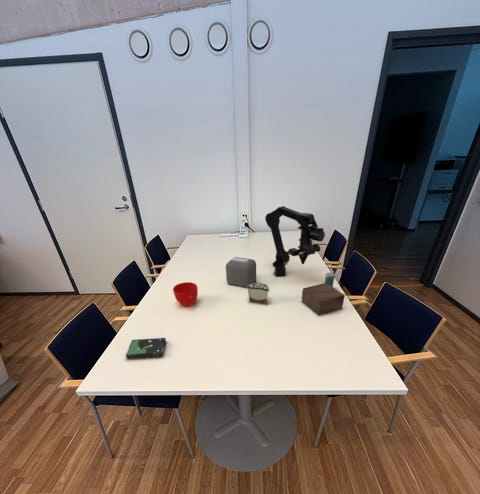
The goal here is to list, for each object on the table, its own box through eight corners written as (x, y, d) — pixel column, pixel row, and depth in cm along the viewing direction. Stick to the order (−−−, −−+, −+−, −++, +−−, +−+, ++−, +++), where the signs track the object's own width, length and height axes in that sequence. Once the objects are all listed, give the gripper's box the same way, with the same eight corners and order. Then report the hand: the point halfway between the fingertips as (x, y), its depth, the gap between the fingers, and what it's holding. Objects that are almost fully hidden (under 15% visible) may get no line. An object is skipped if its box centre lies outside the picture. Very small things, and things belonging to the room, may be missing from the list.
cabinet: (301, 301, 145) (303, 288, 140) (323, 296, 149) (325, 282, 145) (318, 315, 133) (321, 301, 128) (341, 309, 137) (344, 294, 133)
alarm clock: (256, 281, 168) (256, 258, 159) (249, 289, 159) (248, 264, 151) (233, 277, 174) (232, 254, 165) (225, 284, 165) (223, 261, 156)
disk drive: (166, 342, 120) (133, 344, 119) (165, 337, 118) (131, 339, 117) (162, 357, 111) (126, 359, 110) (161, 352, 110) (125, 354, 109)
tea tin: (325, 292, 153) (327, 276, 147) (321, 288, 157) (324, 273, 151) (333, 291, 153) (336, 275, 148) (329, 287, 157) (332, 272, 152)
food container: (271, 299, 148) (271, 283, 142) (268, 305, 143) (269, 288, 138) (250, 296, 152) (250, 281, 146) (247, 302, 147) (246, 285, 141)
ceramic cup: (182, 315, 138) (179, 298, 132) (173, 301, 150) (170, 285, 145) (205, 308, 142) (203, 292, 137) (194, 295, 155) (192, 280, 149)
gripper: (299, 244, 140) (296, 271, 149) (328, 239, 146) (324, 265, 155) (288, 238, 149) (286, 265, 158) (315, 234, 155) (312, 259, 163)
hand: (302, 263), depth 158 cm, fingers closed
